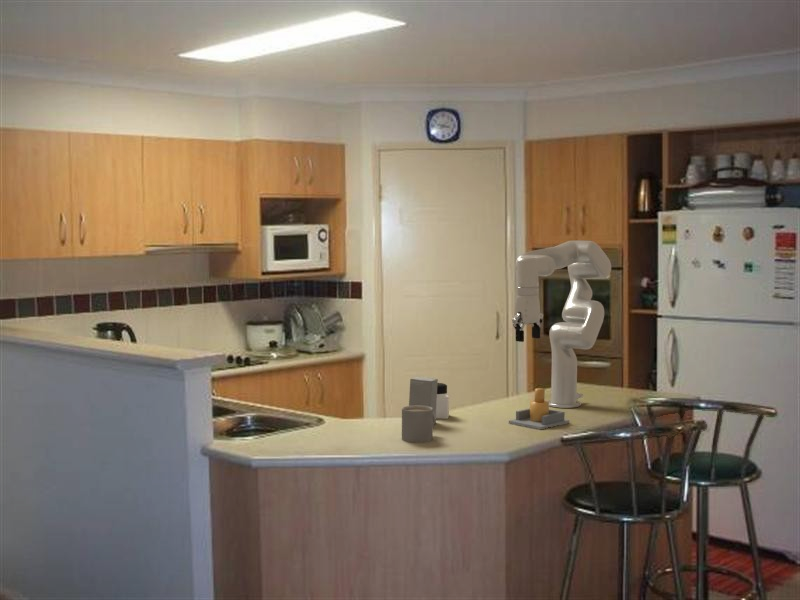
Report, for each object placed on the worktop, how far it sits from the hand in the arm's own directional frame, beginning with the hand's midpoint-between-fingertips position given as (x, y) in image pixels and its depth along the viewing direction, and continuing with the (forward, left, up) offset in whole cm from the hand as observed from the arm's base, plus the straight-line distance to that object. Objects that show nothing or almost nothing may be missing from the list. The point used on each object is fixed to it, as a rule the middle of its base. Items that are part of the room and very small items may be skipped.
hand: (528, 339), depth 356 cm
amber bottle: (+6, +10, -27) cm, 29 cm away
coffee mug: (+52, -2, -28) cm, 59 cm away
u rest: (+6, +10, -28) cm, 30 cm away
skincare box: (+35, -18, -28) cm, 48 cm away
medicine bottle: (+23, -22, -28) cm, 42 cm away
